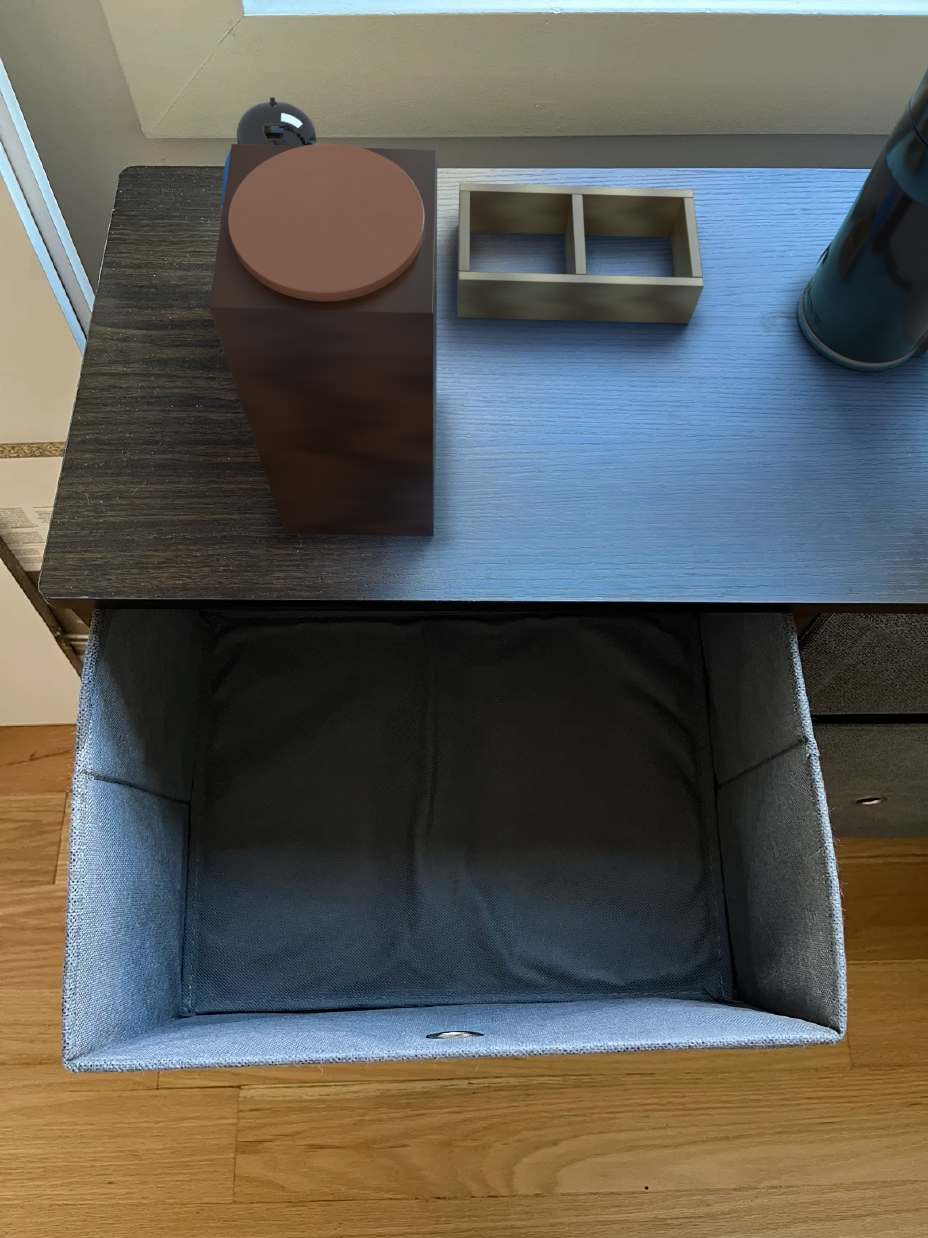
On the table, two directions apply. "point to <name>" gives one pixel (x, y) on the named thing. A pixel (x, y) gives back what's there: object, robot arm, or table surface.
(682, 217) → the rack
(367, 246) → the coaster
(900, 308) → the robot arm
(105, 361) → the table surface
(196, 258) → the table surface
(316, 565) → the table surface
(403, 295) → the stand
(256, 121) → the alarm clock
